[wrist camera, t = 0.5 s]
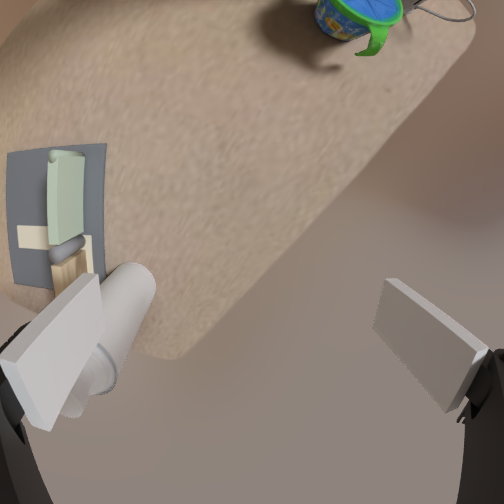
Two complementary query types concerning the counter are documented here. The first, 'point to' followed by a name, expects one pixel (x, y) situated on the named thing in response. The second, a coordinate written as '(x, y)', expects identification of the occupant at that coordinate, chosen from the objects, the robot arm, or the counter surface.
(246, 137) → the counter surface
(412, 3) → the glass holder
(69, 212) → the pale green rectangular block
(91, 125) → the counter surface
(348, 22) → the snack cup
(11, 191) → the card
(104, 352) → the spray bottle
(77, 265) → the fence fixed
